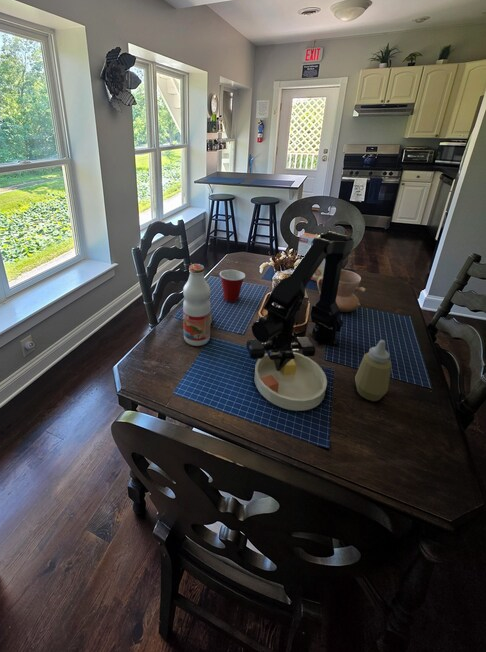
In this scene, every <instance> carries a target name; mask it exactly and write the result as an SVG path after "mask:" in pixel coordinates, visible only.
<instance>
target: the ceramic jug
mask: <svg viewBox="0 0 486 652" xmlns="http://www.w3.org/2000/svg"><path fill="white" fill-rule="evenodd" d="M321 280H323V276H321V277H319V278H318V281H316V284H317V289H318V292H319V294H320V293H321V286H322V283H321ZM361 281H362V277H361V275H359V274H358V273H356V272H354V271H351V270H347V269H343V268H342V269H341V274H340V280H339V286H338V291H337V297H336V303H337V305H338V307H339V309H340V313H350V312H353V311H355V310H357V309H358V308H360V307H361V302H360V299H359V298H358V296H357V295H355V293H354V292H357V291H359V292H360V291H361V292H362V293H364V292H365V291H366V288H365V287H363V286H359V285H360V284H361Z"/></svg>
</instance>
